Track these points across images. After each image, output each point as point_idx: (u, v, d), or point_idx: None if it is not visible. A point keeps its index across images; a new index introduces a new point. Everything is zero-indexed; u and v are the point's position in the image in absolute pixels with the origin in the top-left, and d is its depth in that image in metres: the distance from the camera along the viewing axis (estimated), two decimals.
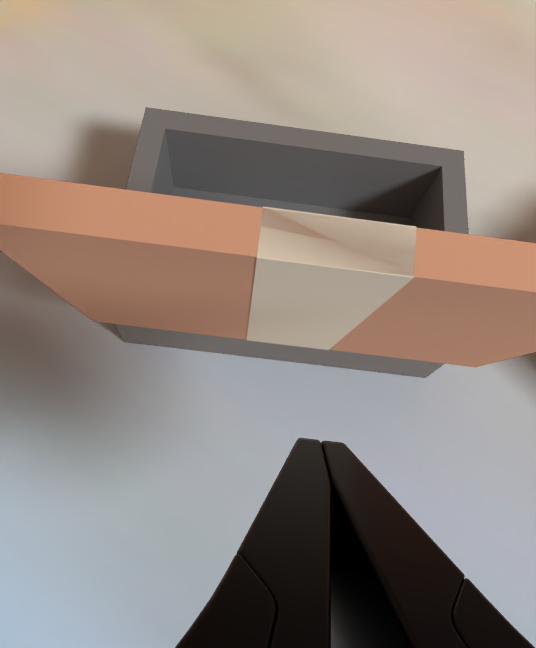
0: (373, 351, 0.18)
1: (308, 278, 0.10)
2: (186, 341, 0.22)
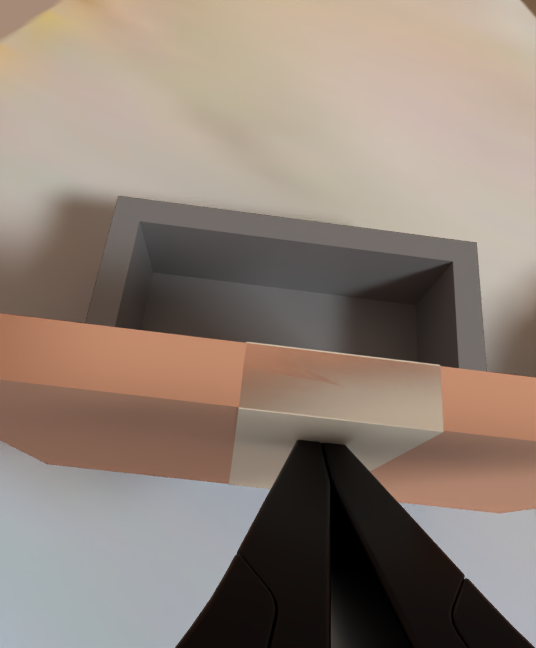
0: None
1: (304, 429, 0.08)
2: None
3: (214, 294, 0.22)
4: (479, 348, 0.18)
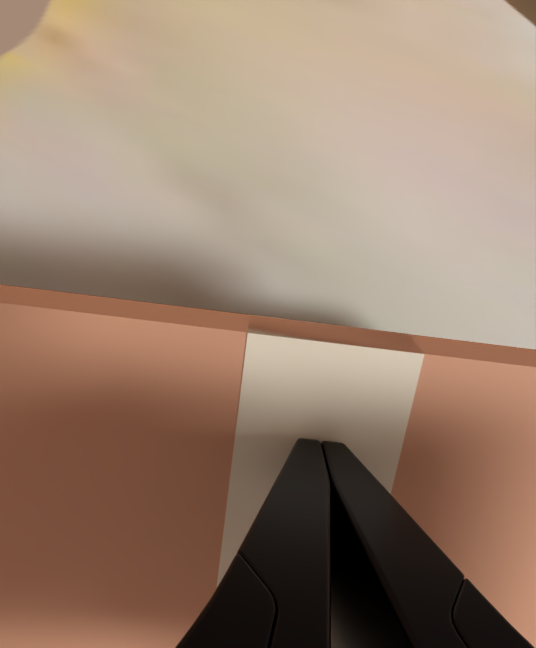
0: None
1: (304, 390, 0.09)
2: None
3: None
4: None
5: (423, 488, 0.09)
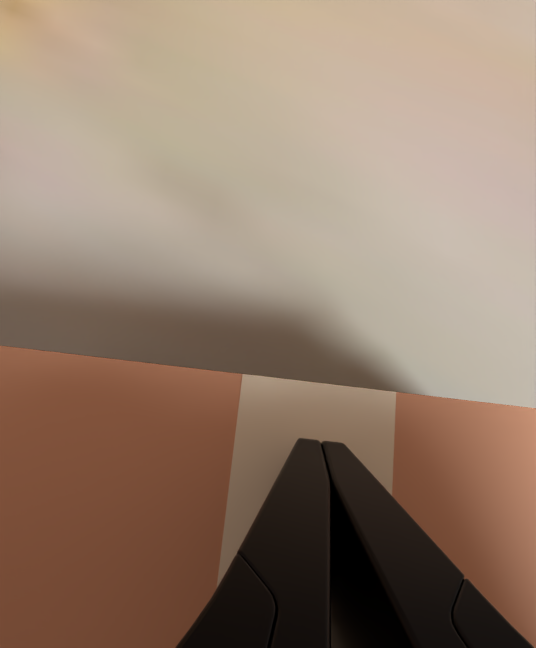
0: None
1: (295, 429, 0.09)
2: None
3: None
4: None
5: None
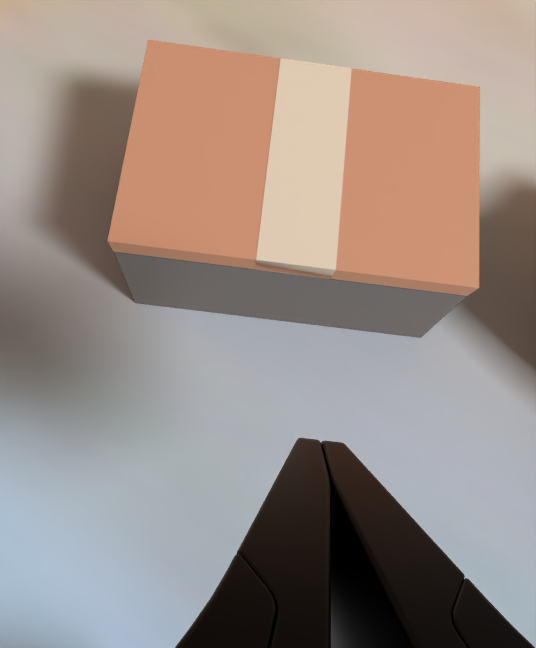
0: (375, 256, 0.19)
1: (304, 81, 0.21)
2: (194, 301, 0.23)
3: None
4: None
5: (361, 125, 0.20)
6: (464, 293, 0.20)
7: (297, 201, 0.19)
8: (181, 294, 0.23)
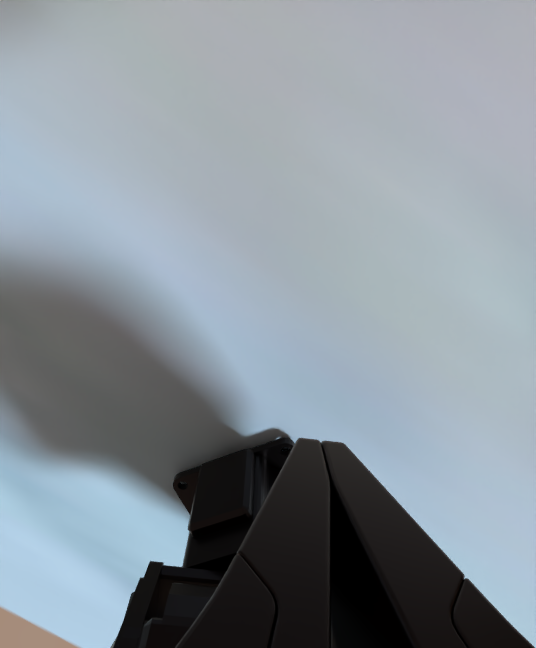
0: None
1: None
2: None
3: None
4: None
5: None
6: None
7: None
8: None
